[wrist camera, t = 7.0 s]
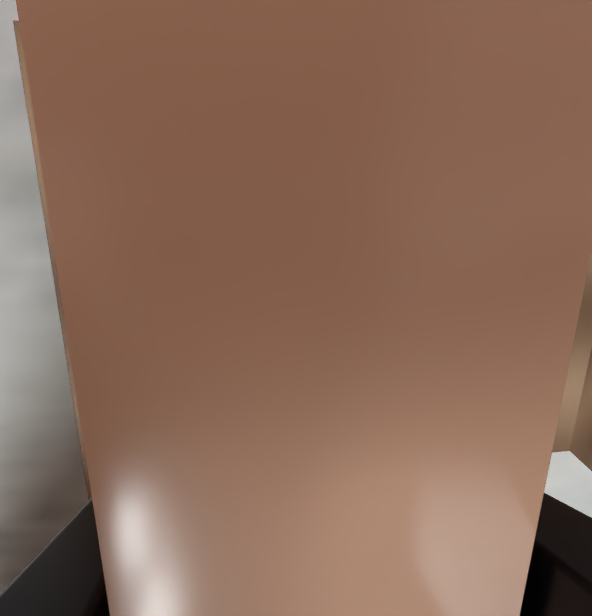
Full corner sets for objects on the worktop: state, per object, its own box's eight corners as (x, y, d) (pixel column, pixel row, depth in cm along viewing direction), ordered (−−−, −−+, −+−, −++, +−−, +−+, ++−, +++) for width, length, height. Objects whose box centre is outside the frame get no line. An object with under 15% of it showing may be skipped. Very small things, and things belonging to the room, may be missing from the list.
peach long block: (372, 669, 11) (455, 938, 8) (180, 700, 11) (170, 1011, 7) (418, 42, 7) (647, -30, 4) (112, 34, 7) (6, -65, 3)
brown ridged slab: (580, 433, 22) (626, 472, 19) (106, 480, 19) (93, 532, 16) (664, 51, 17) (738, 41, 15) (44, 35, 14) (12, 20, 12)
